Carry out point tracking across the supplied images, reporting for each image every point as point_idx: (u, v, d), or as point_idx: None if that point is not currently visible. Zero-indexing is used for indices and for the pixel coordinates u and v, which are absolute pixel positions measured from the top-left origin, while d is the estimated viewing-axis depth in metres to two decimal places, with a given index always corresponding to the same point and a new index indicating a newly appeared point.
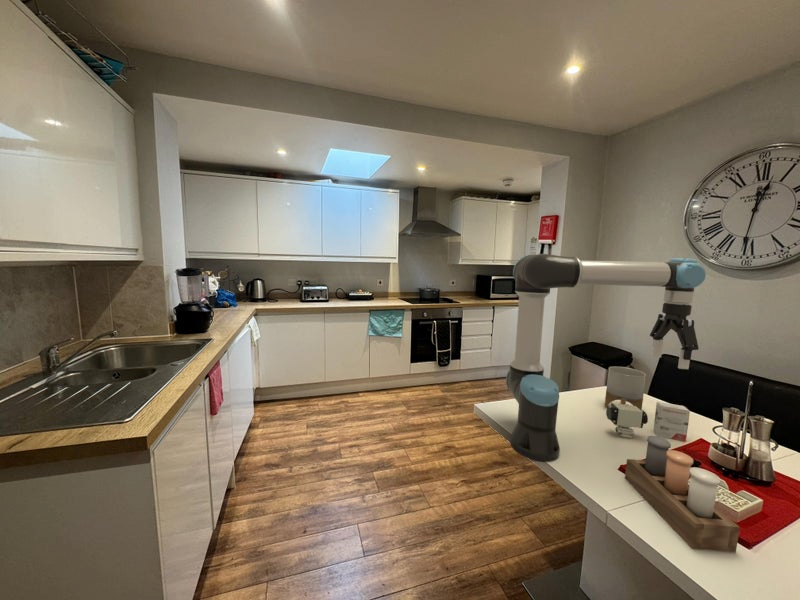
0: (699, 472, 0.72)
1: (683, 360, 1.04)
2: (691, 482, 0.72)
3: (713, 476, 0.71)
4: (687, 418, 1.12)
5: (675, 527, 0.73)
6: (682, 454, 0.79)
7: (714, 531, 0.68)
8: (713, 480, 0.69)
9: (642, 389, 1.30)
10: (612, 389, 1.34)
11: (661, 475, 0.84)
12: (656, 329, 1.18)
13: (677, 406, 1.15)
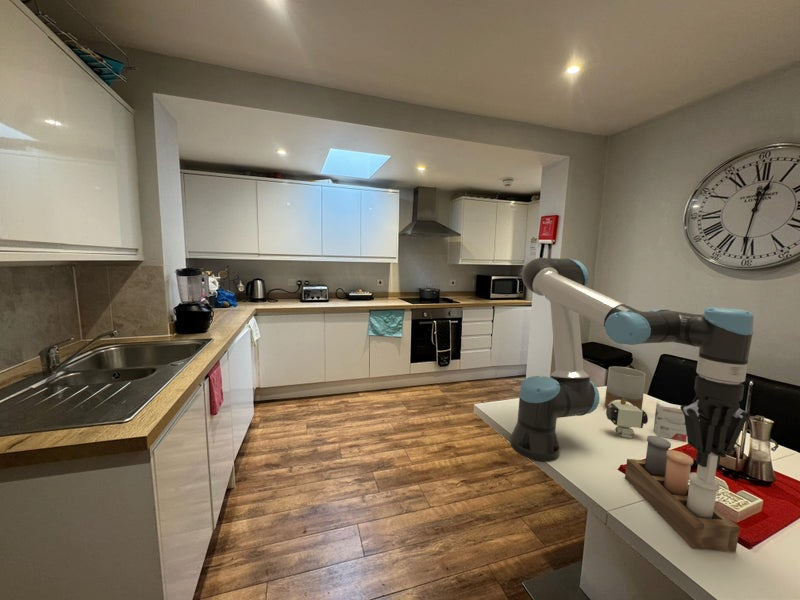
0: (698, 477, 0.72)
1: (701, 465, 0.72)
2: (690, 487, 0.72)
3: None
4: None
5: (675, 527, 0.73)
6: (682, 454, 0.79)
7: (714, 531, 0.68)
8: (712, 486, 0.70)
9: (642, 389, 1.30)
10: (612, 389, 1.34)
11: (661, 475, 0.84)
12: None
13: (677, 406, 1.15)
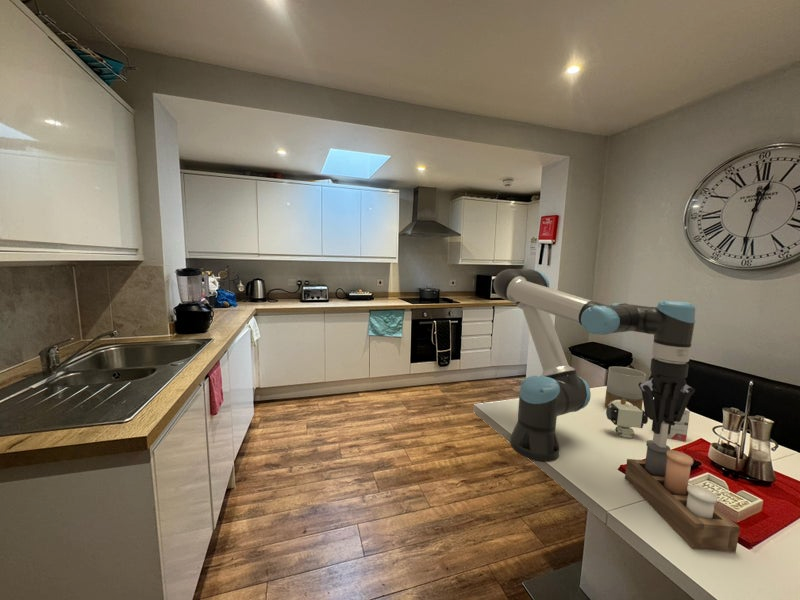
0: (696, 489, 0.73)
1: None
2: (688, 499, 0.73)
3: (710, 493, 0.71)
4: (687, 418, 1.12)
5: (675, 527, 0.73)
6: (682, 454, 0.79)
7: (714, 531, 0.68)
8: (710, 498, 0.70)
9: None
10: (612, 389, 1.34)
11: None
12: (674, 405, 0.85)
13: None
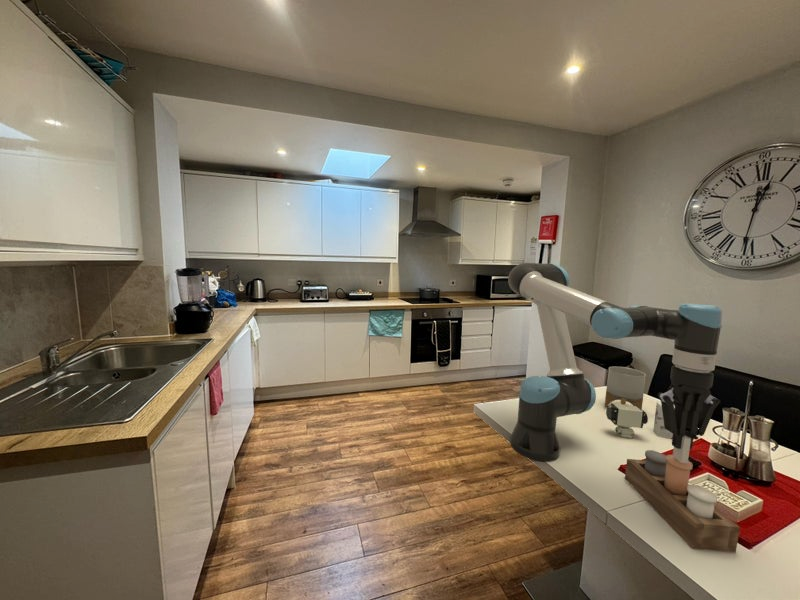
0: (696, 489, 0.73)
1: None
2: (688, 499, 0.73)
3: (710, 493, 0.71)
4: None
5: (675, 527, 0.73)
6: None
7: (714, 531, 0.68)
8: (710, 498, 0.70)
9: (642, 389, 1.30)
10: (612, 389, 1.34)
11: None
12: None
13: None
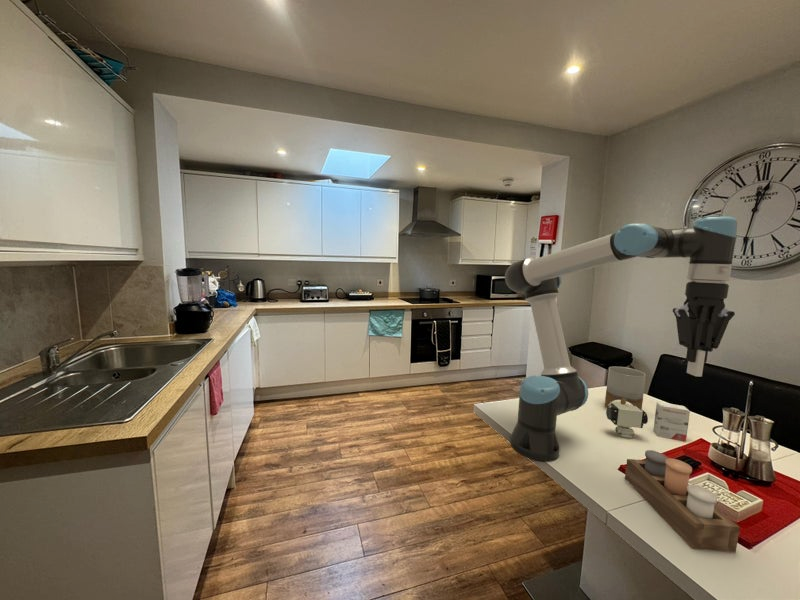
0: (696, 489, 0.73)
1: (690, 362, 0.80)
2: (688, 499, 0.73)
3: (710, 493, 0.71)
4: (687, 418, 1.12)
5: (675, 527, 0.73)
6: (681, 462, 0.79)
7: (714, 531, 0.68)
8: (710, 498, 0.70)
9: (642, 389, 1.30)
10: (612, 389, 1.34)
11: None
12: None
13: (677, 406, 1.15)
